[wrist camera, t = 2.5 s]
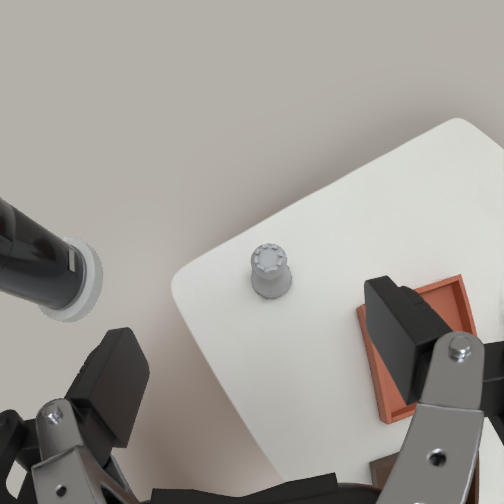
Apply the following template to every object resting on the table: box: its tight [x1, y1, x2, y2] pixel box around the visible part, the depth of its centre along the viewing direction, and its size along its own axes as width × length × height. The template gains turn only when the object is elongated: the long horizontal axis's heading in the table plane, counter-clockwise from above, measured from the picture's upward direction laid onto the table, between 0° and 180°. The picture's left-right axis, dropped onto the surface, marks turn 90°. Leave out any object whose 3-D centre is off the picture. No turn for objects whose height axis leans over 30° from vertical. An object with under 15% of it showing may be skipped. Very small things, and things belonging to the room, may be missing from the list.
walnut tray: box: [370, 451, 479, 504], centre depth 23 cm, size 13×13×3 cm
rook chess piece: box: [251, 243, 292, 298], centre depth 31 cm, size 4×4×8 cm
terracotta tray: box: [356, 274, 477, 424], centre depth 29 cm, size 13×13×3 cm
